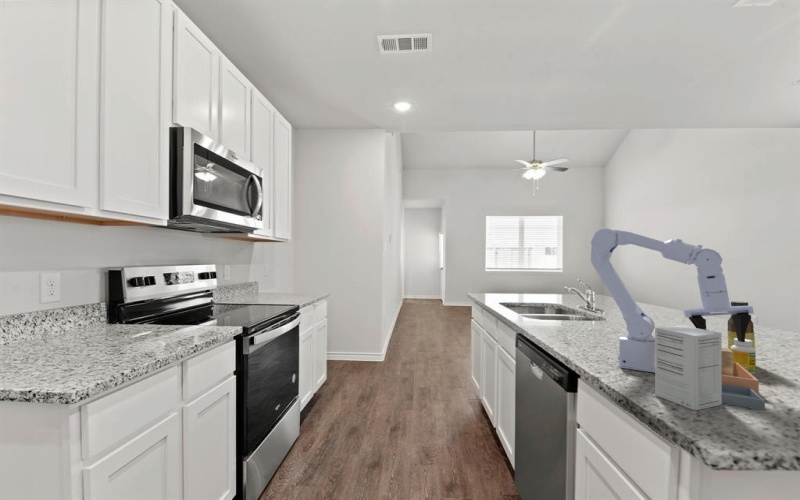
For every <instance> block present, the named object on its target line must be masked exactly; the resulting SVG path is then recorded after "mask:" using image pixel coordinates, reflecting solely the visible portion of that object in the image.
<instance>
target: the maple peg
mask: <svg viewBox="0 0 800 500" xmlns="http://www.w3.org/2000/svg"><path fill="white" fill-rule="evenodd" d="M721 364H722V375H727V376H733V352H732V351H731V350H730V349H728V347H722V363H721Z"/></svg>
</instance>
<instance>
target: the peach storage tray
mask: <svg viewBox="0 0 800 500" xmlns="http://www.w3.org/2000/svg"><path fill="white" fill-rule="evenodd" d="M722 384H726V385H733V386H739V387H746V388H752V389H753V390H754V391H755V392H756V393H757V394H758V395H759V394H760V392H759V391H760V389H759V388H760V387H759V385H760V380H759V379H757V378H756V377H755V375H754V374H750V373H749V372H748V371H747V370H746V369H744V368H743V367H742V366H741V365H740V364H739V363H736V362H733V376H727V375H722ZM759 396H760V395H759Z"/></svg>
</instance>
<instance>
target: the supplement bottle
mask: <svg viewBox="0 0 800 500" xmlns="http://www.w3.org/2000/svg"><path fill="white" fill-rule="evenodd" d="M734 344H735V345H732V346H731V351H732V352H733V362H736V363H739V364H740V365H741V366H742V367H743V368H744V369H746V370H747V371H748V372H749V373H750V374H752V375H755V374H756V370H757V369H756V367H757V365H756V364H757V363H756V360H757V359H756V357H757V356H756V353H757V352H756V348H755V349H754V348H752V347H751V346H752V345H753V342H752V340H748V339H745V342H740V341H738V339H737V338H734Z"/></svg>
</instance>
